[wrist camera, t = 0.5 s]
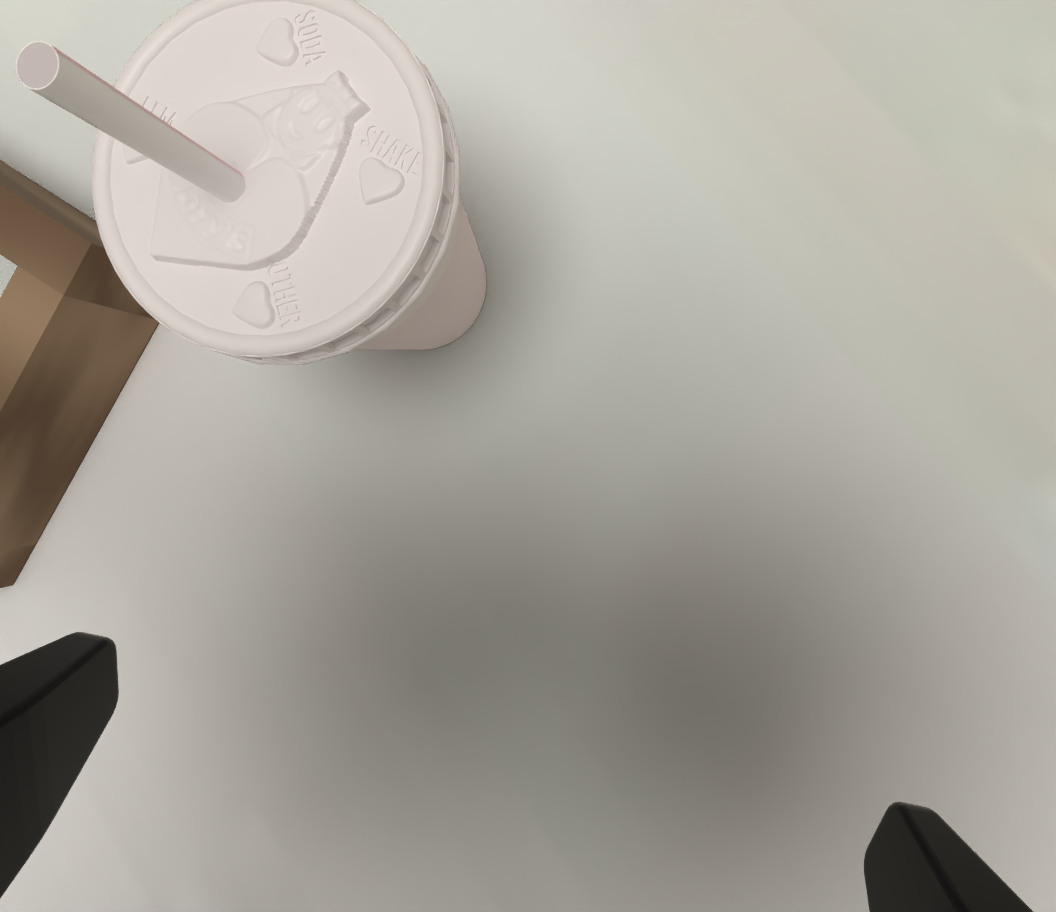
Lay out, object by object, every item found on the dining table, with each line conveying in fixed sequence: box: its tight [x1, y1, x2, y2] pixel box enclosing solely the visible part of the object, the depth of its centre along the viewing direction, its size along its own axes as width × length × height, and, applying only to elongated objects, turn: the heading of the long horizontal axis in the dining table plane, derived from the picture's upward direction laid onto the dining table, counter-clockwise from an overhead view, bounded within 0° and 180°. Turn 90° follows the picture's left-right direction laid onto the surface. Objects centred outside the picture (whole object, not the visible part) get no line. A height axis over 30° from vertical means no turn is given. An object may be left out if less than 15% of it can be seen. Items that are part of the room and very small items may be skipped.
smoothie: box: [16, 0, 487, 365], centre depth 16 cm, size 6×6×14 cm
